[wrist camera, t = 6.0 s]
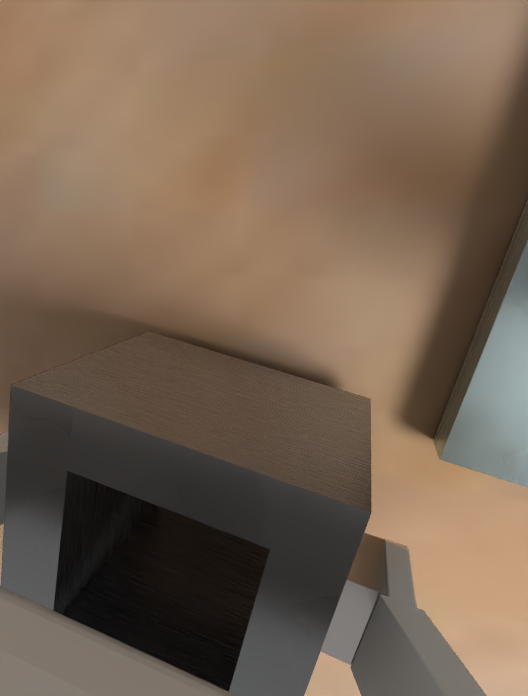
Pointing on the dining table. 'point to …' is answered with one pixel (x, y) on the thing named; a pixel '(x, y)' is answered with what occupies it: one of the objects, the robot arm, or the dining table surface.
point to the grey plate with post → (494, 379)
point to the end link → (188, 506)
